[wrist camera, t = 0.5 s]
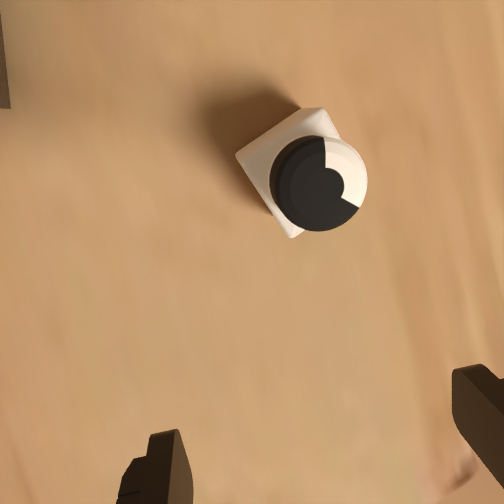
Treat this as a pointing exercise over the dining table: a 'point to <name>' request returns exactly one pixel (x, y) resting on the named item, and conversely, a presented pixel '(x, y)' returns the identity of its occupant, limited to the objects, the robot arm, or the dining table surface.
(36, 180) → the dining table surface
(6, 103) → the square frame
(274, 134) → the medicine bottle
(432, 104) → the dining table surface
